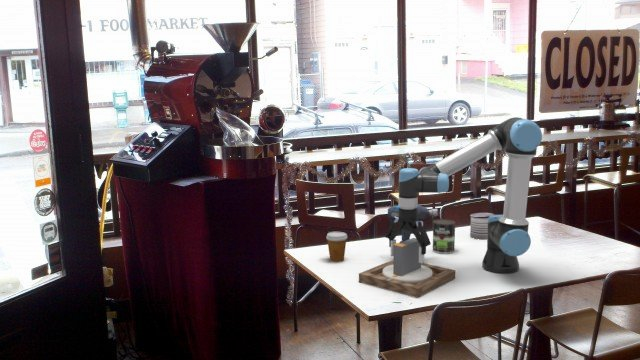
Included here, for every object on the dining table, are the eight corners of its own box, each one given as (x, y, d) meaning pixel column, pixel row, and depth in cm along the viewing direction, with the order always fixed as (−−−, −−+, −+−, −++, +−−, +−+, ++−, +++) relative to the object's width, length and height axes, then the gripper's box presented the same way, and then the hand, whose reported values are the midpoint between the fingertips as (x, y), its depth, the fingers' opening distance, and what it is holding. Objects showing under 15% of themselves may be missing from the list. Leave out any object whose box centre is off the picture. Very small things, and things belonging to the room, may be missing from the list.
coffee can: (452, 255, 289) (453, 225, 287) (430, 252, 293) (430, 223, 290) (456, 248, 299) (457, 220, 296) (435, 246, 302) (435, 218, 300)
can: (478, 241, 311) (479, 217, 309) (465, 235, 322) (465, 212, 319) (497, 238, 316) (498, 214, 314) (483, 233, 326) (483, 210, 324)
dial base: (455, 278, 257) (455, 269, 257) (417, 297, 237) (417, 288, 236) (398, 265, 276) (398, 256, 275) (358, 281, 255) (358, 273, 255)
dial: (401, 264, 270) (401, 232, 267) (441, 274, 257) (442, 240, 254) (372, 276, 255) (372, 242, 253) (414, 287, 242) (414, 251, 239)
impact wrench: (437, 263, 278) (438, 207, 273) (386, 260, 282) (386, 206, 278) (438, 257, 285) (439, 203, 281) (388, 255, 290) (388, 202, 285)
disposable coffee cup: (351, 259, 285) (351, 233, 283) (338, 264, 278) (337, 238, 276) (336, 255, 291) (335, 230, 289) (322, 260, 285) (321, 234, 282)
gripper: (440, 210, 245) (438, 262, 249) (387, 201, 262) (387, 250, 266) (429, 213, 240) (428, 267, 244) (377, 204, 256) (376, 254, 260)
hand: (407, 258), depth 255 cm, fingers open, 13 cm apart
